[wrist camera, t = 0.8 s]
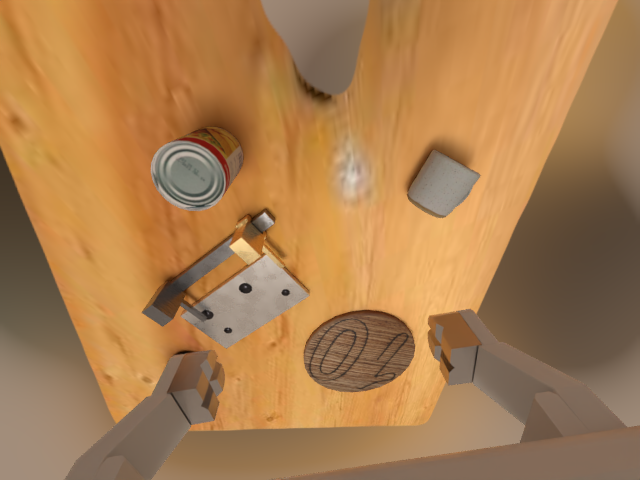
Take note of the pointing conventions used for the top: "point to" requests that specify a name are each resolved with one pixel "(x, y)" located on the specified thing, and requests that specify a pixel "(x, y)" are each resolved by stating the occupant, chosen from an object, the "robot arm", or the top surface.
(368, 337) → the trivet
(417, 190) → the ceramic mug
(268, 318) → the bolt plate
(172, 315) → the rail
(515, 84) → the top surface
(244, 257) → the sliding leg
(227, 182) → the canned food
